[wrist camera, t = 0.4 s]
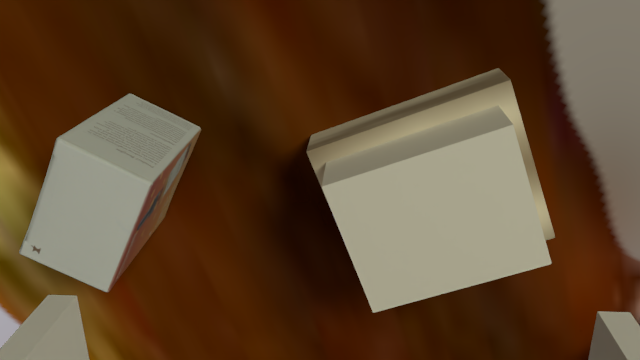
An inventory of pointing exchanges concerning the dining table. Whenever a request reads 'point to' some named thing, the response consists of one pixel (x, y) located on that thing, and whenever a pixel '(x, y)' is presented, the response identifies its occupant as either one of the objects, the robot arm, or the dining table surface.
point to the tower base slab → (425, 115)
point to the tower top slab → (437, 210)
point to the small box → (108, 190)
